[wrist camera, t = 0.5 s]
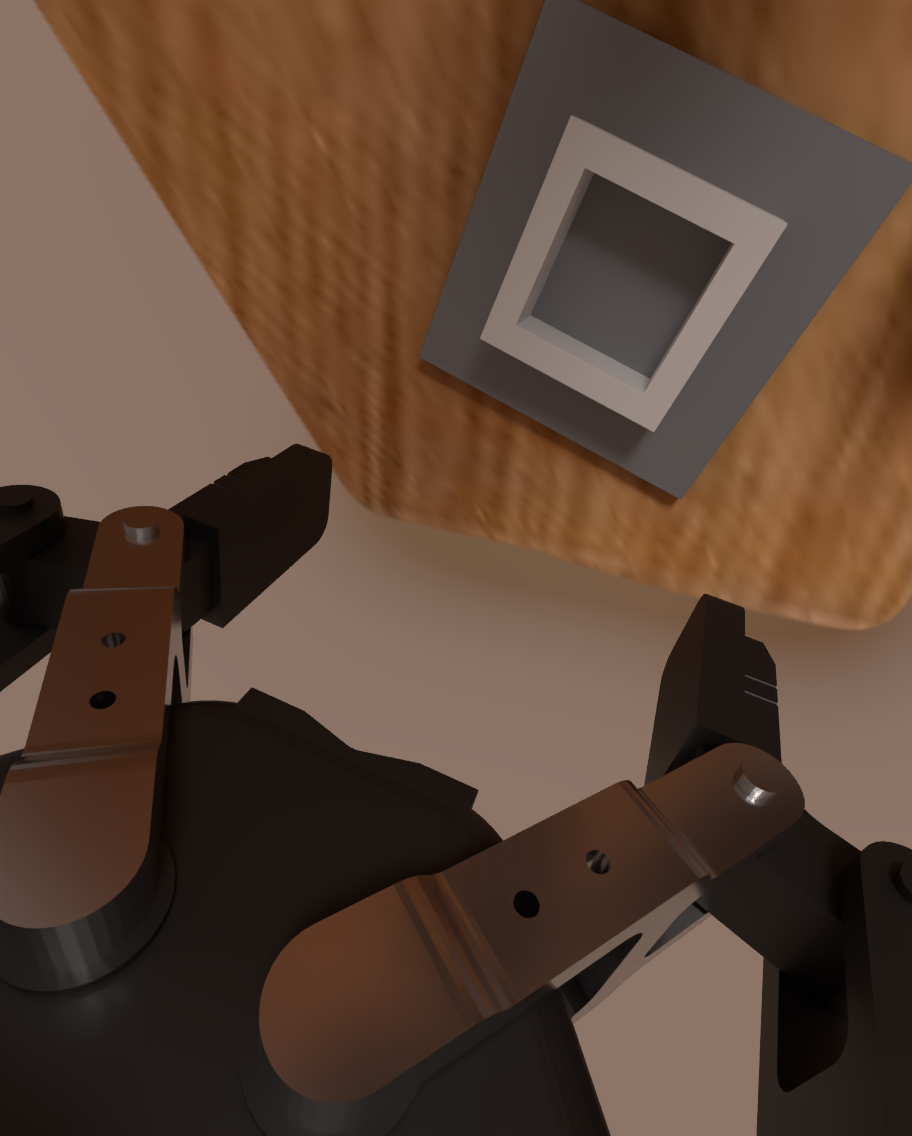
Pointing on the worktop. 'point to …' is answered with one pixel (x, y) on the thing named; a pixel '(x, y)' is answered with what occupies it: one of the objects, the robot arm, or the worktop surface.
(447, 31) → the worktop surface
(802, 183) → the collar plate
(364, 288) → the worktop surface
